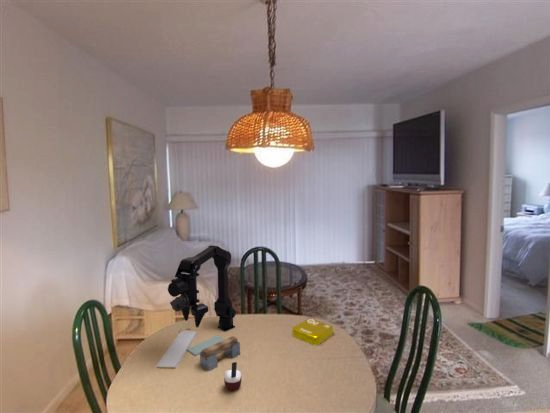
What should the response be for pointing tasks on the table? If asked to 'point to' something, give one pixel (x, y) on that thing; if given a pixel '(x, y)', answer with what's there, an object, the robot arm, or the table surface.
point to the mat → (204, 345)
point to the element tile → (312, 331)
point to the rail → (219, 347)
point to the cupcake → (232, 377)
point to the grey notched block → (209, 361)
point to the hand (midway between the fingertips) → (191, 323)
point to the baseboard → (176, 350)
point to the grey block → (233, 350)
